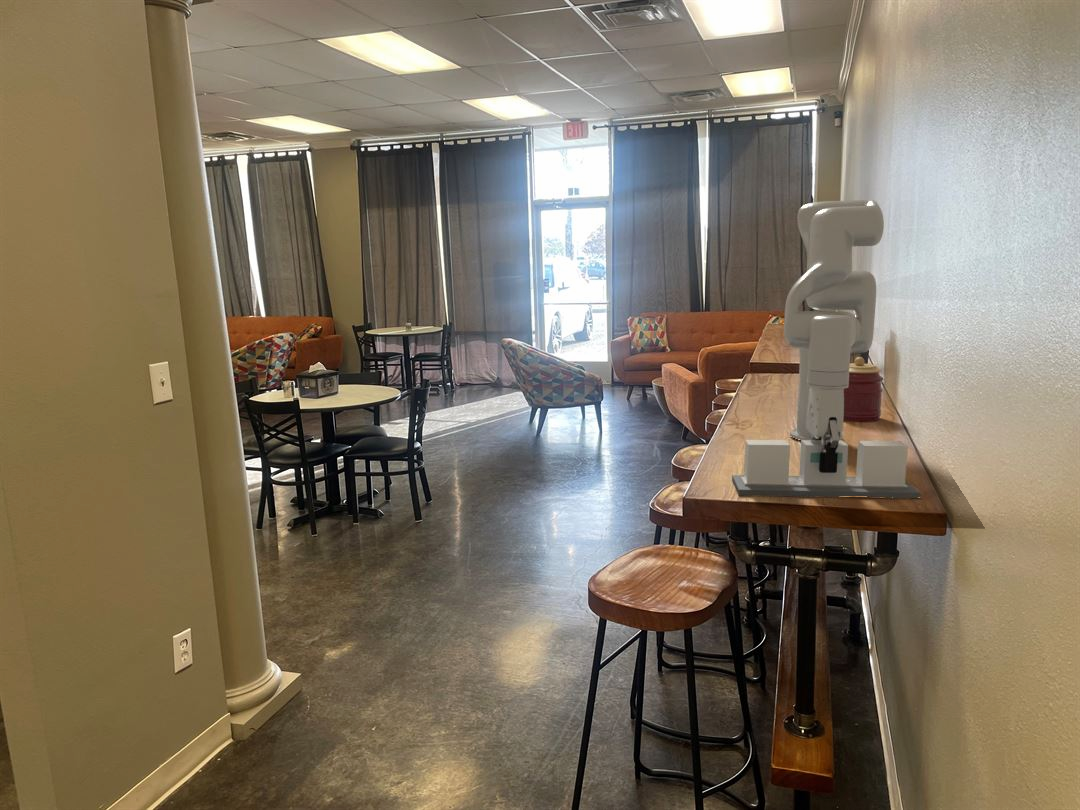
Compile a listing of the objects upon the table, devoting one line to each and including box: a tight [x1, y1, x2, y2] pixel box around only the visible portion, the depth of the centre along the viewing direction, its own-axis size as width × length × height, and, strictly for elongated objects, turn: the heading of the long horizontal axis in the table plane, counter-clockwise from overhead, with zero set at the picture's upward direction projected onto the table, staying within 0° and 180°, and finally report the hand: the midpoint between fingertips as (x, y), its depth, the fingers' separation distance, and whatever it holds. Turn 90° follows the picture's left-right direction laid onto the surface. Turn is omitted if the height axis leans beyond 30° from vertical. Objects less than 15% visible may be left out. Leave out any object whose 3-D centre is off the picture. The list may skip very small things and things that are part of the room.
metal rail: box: [741, 477, 908, 489], centre depth 146 cm, size 5×31×1 cm, turn 83°
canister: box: [843, 356, 884, 423], centre depth 208 cm, size 13×13×18 cm
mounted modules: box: [743, 439, 909, 486], centre depth 145 cm, size 4×30×8 cm, turn 83°
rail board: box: [731, 474, 922, 499], centre depth 146 cm, size 10×34×1 cm, turn 83°
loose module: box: [798, 439, 849, 485], centre depth 145 cm, size 4×8×8 cm, turn 83°
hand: (823, 466), depth 145 cm, fingers open, 6 cm apart
